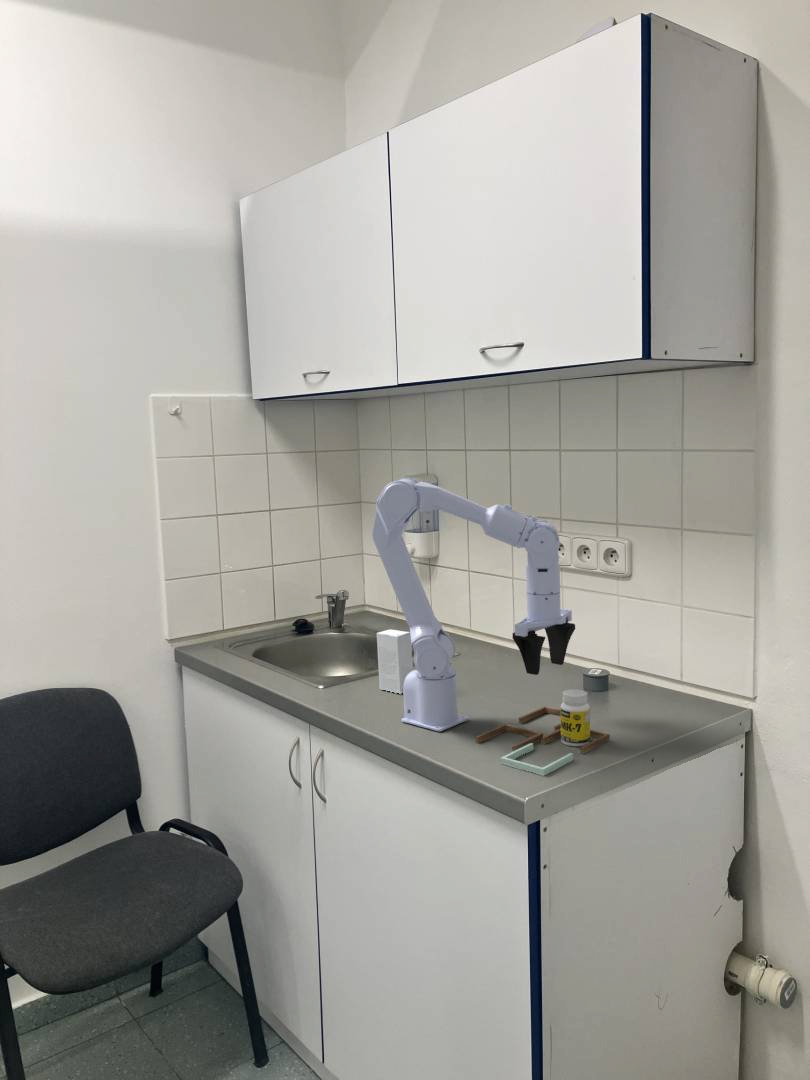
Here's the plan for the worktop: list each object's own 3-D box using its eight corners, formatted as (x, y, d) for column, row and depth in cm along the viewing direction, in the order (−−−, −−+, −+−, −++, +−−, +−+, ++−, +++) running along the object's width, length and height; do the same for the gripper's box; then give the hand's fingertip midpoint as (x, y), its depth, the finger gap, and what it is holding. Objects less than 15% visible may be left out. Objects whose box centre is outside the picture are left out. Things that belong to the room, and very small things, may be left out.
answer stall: (500, 763, 138) (500, 757, 138) (530, 748, 143) (530, 743, 143) (543, 775, 132) (543, 769, 132) (573, 759, 138) (572, 753, 138)
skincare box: (414, 689, 179) (412, 632, 178) (400, 695, 176) (397, 636, 174) (392, 685, 183) (389, 628, 182) (378, 690, 180) (375, 632, 178)
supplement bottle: (556, 744, 145) (555, 694, 144) (567, 735, 149) (566, 686, 148) (583, 749, 142) (582, 698, 141) (594, 739, 146) (593, 690, 145)
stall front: (541, 743, 146) (541, 737, 145) (568, 730, 151) (568, 724, 151) (583, 754, 140) (583, 748, 140) (609, 739, 146) (609, 734, 146)
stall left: (518, 723, 156) (518, 717, 156) (544, 711, 162) (544, 706, 162) (557, 732, 151) (556, 726, 150) (582, 719, 156) (582, 714, 156)
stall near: (476, 742, 147) (475, 736, 147) (505, 729, 153) (504, 723, 153) (514, 753, 142) (514, 747, 142) (543, 738, 148) (543, 733, 148)
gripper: (538, 601, 145) (540, 682, 146) (586, 587, 155) (587, 662, 157) (503, 597, 149) (506, 675, 151) (552, 583, 160) (553, 657, 161)
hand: (545, 668), depth 154 cm, fingers open, 7 cm apart
